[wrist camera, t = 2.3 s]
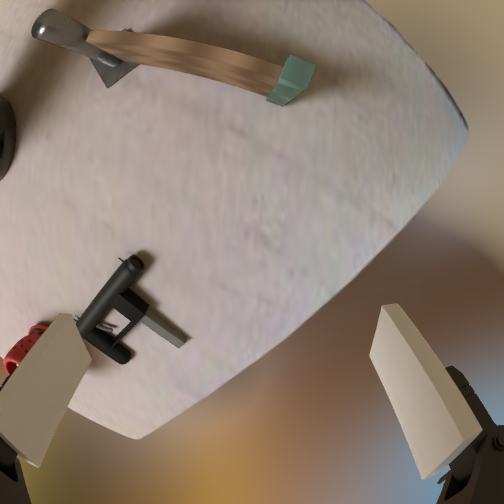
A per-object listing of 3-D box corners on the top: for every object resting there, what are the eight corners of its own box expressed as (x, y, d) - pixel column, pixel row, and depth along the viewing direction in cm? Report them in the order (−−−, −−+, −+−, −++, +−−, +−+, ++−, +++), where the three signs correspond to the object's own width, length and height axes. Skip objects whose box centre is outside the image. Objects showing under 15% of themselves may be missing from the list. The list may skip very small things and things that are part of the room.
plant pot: (22, 325, 41) (-7, 360, 30) (53, 312, 40) (20, 354, 29) (57, 371, 46) (35, 408, 35) (92, 365, 45) (70, 410, 34)
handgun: (210, 327, 38) (119, 254, 33) (138, 381, 43) (64, 329, 38) (211, 313, 41) (127, 244, 36) (141, 368, 46) (71, 317, 41)
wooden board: (125, 65, 26) (70, 38, 14) (131, 51, 25) (79, 19, 13) (282, 106, 29) (307, 87, 17) (288, 91, 28) (316, 65, 16)
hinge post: (108, 87, 27) (27, 69, 12) (91, 58, 25) (13, 31, 10) (146, 59, 26) (81, 16, 11) (127, 29, 24) (62, -18, 9)
